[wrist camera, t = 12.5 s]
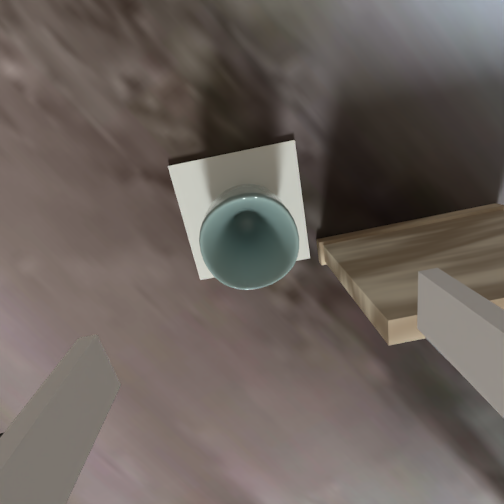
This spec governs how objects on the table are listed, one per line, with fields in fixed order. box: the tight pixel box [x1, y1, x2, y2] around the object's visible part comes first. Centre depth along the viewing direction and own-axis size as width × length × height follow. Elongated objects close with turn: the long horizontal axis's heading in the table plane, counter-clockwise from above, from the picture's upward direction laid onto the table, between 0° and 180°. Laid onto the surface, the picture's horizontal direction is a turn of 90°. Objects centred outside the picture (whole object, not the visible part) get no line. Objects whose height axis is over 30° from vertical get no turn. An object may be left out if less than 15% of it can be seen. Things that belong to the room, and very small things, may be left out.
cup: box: [199, 184, 299, 290], centre depth 27 cm, size 8×8×10 cm
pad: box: [168, 140, 310, 280], centre depth 32 cm, size 13×13×1 cm
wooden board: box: [316, 203, 504, 345], centre depth 27 cm, size 3×21×16 cm, turn 101°
